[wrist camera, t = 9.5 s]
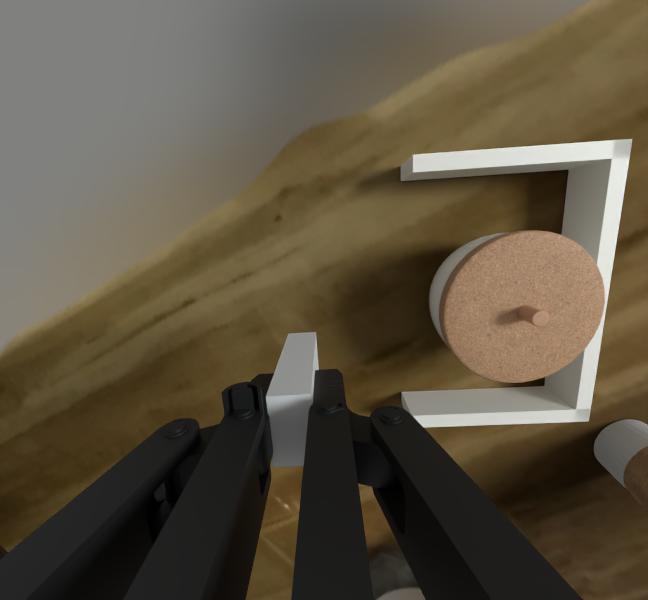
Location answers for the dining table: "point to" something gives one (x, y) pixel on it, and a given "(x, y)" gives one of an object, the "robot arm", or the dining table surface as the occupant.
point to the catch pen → (578, 225)
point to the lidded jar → (517, 304)
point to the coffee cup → (626, 455)
